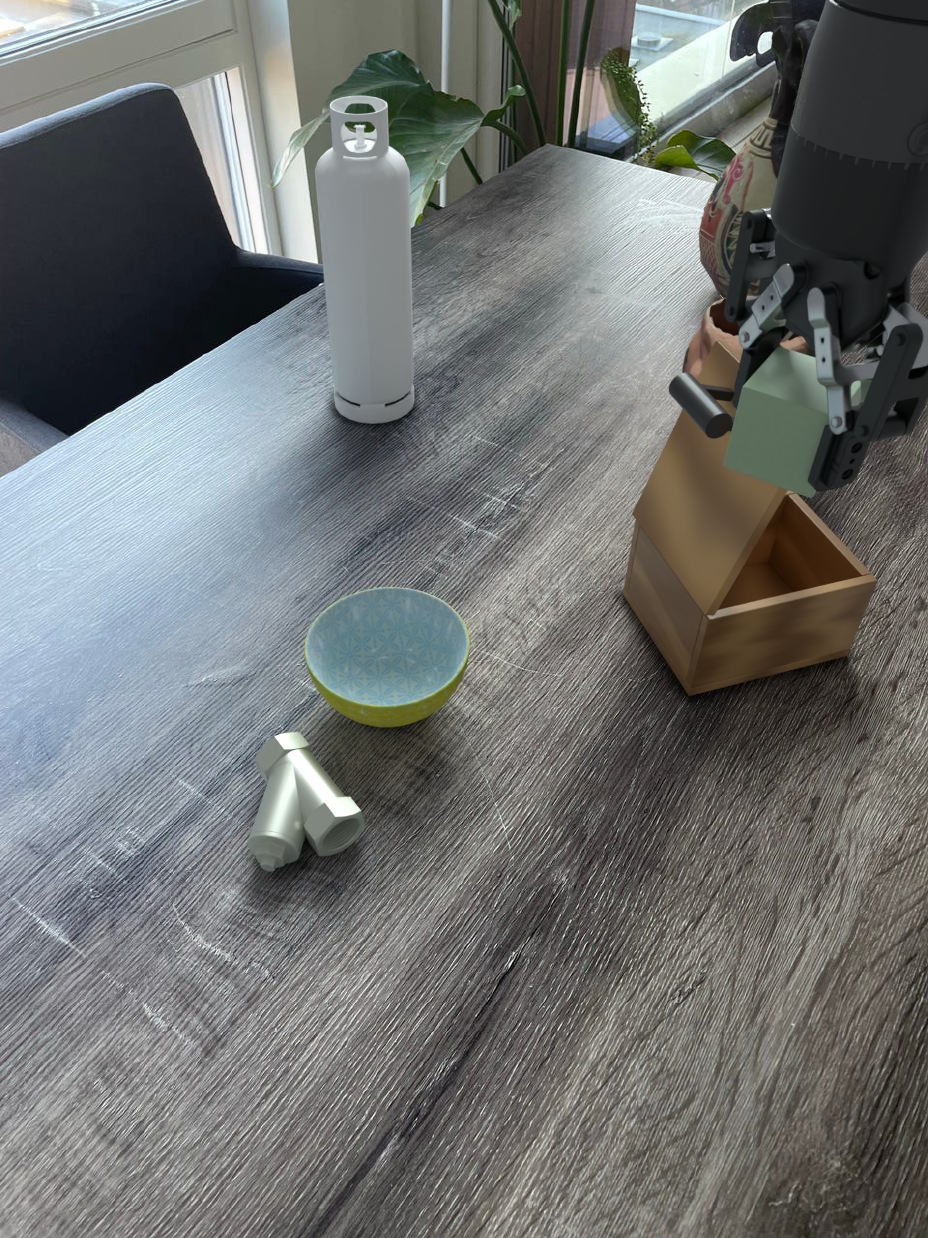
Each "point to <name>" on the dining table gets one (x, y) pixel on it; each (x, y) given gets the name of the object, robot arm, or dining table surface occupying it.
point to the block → (781, 421)
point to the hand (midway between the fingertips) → (787, 444)
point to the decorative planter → (725, 339)
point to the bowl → (387, 655)
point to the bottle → (367, 265)
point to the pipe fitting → (299, 805)
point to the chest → (755, 604)
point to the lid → (705, 487)
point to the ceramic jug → (753, 164)
